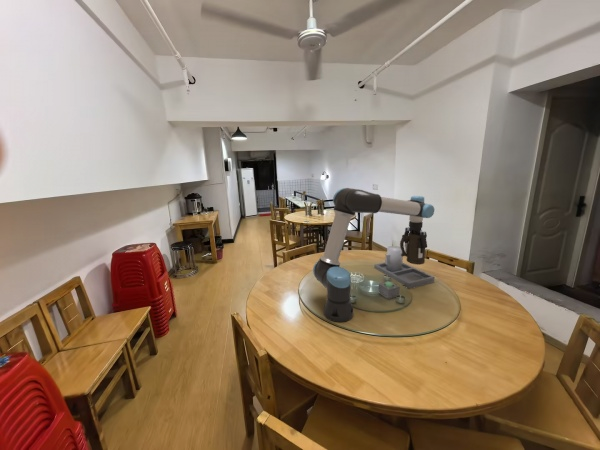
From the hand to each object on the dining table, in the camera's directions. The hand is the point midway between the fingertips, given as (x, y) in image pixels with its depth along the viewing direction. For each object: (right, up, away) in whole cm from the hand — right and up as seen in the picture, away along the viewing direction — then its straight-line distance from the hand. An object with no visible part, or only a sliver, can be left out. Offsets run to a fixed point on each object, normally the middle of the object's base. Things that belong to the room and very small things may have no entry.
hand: (413, 254), depth 149 cm
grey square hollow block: (-21, -22, -13) cm, 33 cm away
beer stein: (0, -5, +2) cm, 5 cm away
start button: (-21, -20, -13) cm, 32 cm away
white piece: (-6, -13, +17) cm, 23 cm away
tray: (-2, -16, +11) cm, 19 cm away
